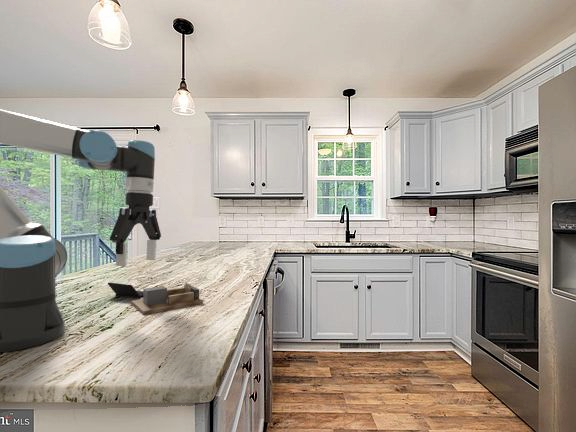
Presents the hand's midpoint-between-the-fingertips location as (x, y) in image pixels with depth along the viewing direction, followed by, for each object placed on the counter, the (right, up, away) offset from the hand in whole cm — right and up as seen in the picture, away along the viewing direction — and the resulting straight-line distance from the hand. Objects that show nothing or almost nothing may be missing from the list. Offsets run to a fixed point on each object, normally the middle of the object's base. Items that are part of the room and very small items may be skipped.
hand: (137, 262), depth 95 cm
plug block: (+4, -13, +3) cm, 14 cm away
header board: (+7, -14, +6) cm, 17 cm away
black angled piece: (-10, -14, +15) cm, 23 cm away
